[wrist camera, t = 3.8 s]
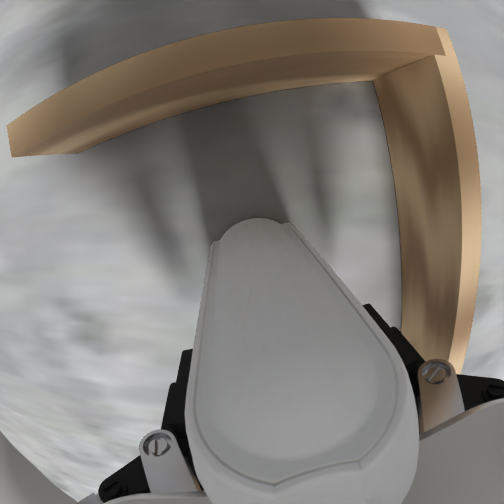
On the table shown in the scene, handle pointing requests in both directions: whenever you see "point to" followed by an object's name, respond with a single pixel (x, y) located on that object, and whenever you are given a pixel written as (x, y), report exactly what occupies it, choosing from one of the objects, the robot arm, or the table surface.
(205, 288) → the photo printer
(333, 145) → the table surface
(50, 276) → the table surface
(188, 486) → the robot arm
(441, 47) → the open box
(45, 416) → the table surface
